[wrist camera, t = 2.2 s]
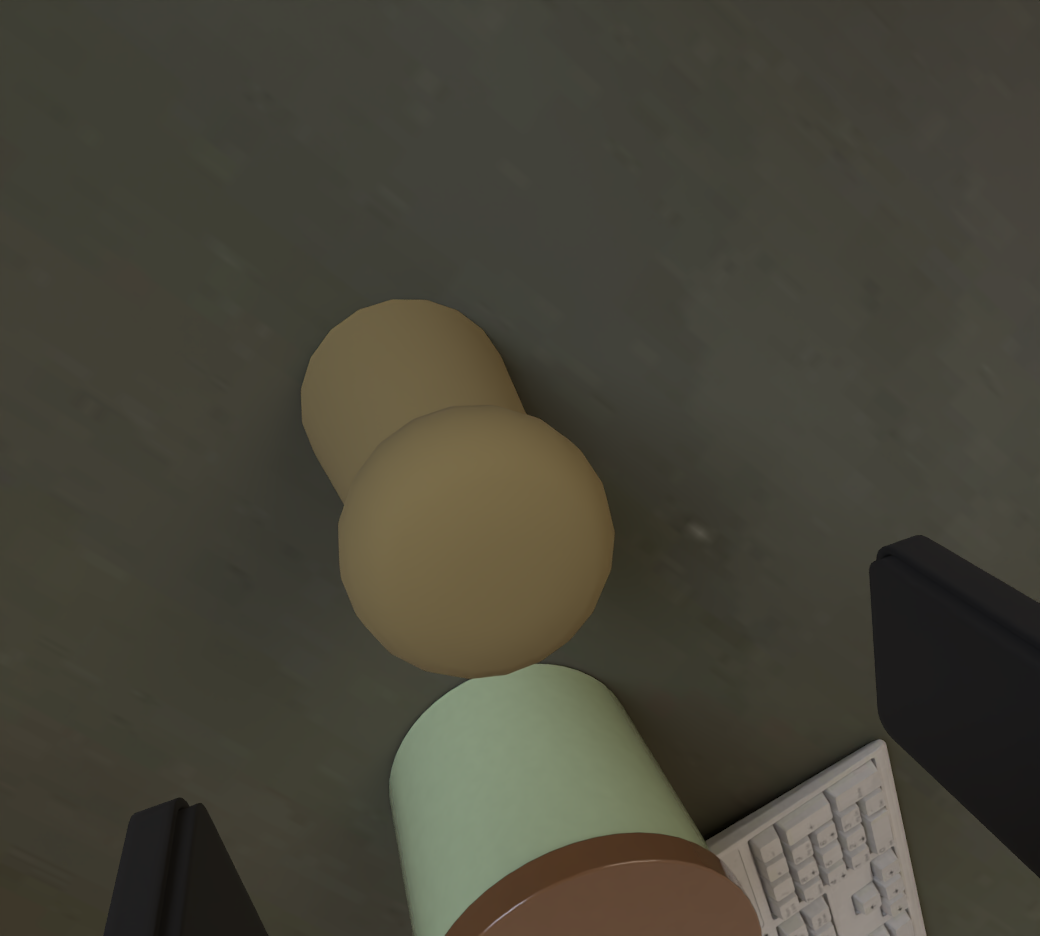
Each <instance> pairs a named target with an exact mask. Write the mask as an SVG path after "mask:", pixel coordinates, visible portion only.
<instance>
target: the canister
mask: <svg viewBox="0 0 1040 936" xmlns="http://www.w3.org/2000/svg"><path fill="white" fill-rule="evenodd" d="M389 799H390V805H391V811H392V817H393V823H394V828H395V834H396V840H397V846H398V851H399V857H400V863H401V869H402V875H403V880H404V886H405V892H406V898H407V903H408V909H409V915H410V921H411V926H412V932H413V936H762V931H761V925H760V921H759V918H758V915H757V912H756V910H755V908H754V906H753V904H752V903H751V901H750V899H749V897H748V896H747V894H746V892H745V891H744V889H743V888H742V886H741V884H740V883H739V881H738V880H737V878H736V876H735V875H734V873H733V872H732V871H731V870H730V869H729V867H728V866H727V865H726V864H725V863H724V862H723V861H722V860H721V859H720V858H718V857H717V856H716V855H715V854H713V853H712V851H711V850H710V848H709V846H708V845H707V843H706V841H705V840H704V838H703V837H702V835H701V833H700V832H699V830H698V828H697V827H696V825H695V823H694V822H693V820H692V819H691V817H690V815H689V814H688V812H687V810H686V809H685V807H684V805H683V804H682V802H681V801H680V799H679V797H678V796H677V794H676V792H675V791H674V789H673V788H672V786H671V784H670V783H669V781H668V779H667V778H666V776H665V774H664V773H663V771H662V770H661V768H660V766H659V765H658V763H657V761H656V760H655V758H654V756H653V755H652V753H651V752H650V750H649V748H648V747H647V745H646V743H645V742H644V740H643V739H642V737H641V735H640V734H639V732H638V730H637V729H636V727H635V725H634V724H633V722H632V721H631V719H630V717H629V716H628V714H627V712H626V711H625V709H624V707H623V706H622V704H621V703H620V701H619V700H618V699H617V698H616V696H615V695H614V694H613V693H612V692H611V691H610V690H609V689H608V688H607V687H606V686H605V685H604V684H602V683H601V682H599V681H598V680H596V679H595V678H593V677H591V676H589V675H587V674H585V673H582V672H580V671H578V670H575V669H571V668H568V667H564V666H559V665H551V664H533V665H530V666H528V667H525V668H523V669H520V670H518V671H515V672H513V673H510V674H507V675H501V676H493V677H484V678H475V679H470V680H468V681H466V682H464V683H462V684H461V685H459V686H457V687H455V688H454V689H452V690H450V691H449V692H448V693H446V694H445V695H444V696H442V697H441V698H440V699H438V700H437V701H436V702H435V703H433V704H432V705H431V706H430V707H429V708H428V709H427V710H426V711H425V712H424V713H423V714H422V715H421V716H420V717H419V719H418V720H417V721H416V722H415V723H414V724H413V726H412V727H411V729H410V730H409V732H408V733H407V735H406V736H405V738H404V739H403V741H402V743H401V745H400V748H399V750H398V752H397V754H396V757H395V760H394V763H393V766H392V769H391V775H390V781H389Z"/></svg>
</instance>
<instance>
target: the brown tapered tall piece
mask: <svg viewBox="0 0 1040 936" xmlns="http://www.w3.org/2000/svg"><path fill="white" fill-rule="evenodd" d="M301 407H302V423H303V426H304V428H305V431H306V433H307V436H308V439H309V441H310V444H311V446H312V449H313V451H314V453H315V455H316V457H317V458H318V460H319V462H320V464H321V465H322V467H323V469H324V471H325V472H326V474H327V476H328V478H329V479H330V481H331V483H332V485H333V486H334V488H335V490H336V492H337V493H338V495H339V497H340V499H341V500H342V502H343V504H344V507H343V510H342V513H341V516H340V519H339V522H338V535H339V566H340V574H341V579H342V582H343V584H344V587H345V589H346V591H347V594H348V596H349V599H350V601H351V604H352V606H353V609H354V611H355V613H356V615H357V616H358V618H359V619H360V620H361V621H362V623H363V624H364V625H365V627H366V628H367V629H368V630H369V631H370V632H371V633H372V634H373V635H374V636H375V637H376V638H377V639H378V640H379V642H380V643H381V644H382V645H383V646H384V647H385V648H386V649H387V650H388V651H389V652H390V653H391V654H393V655H395V656H397V657H399V658H400V659H402V660H404V661H406V662H408V663H410V664H412V665H414V666H416V667H418V668H420V669H422V670H424V671H428V672H433V673H438V674H444V675H450V676H455V677H461V678H467V679H475V678H484V677H493V676H501V675H507V674H510V673H513V672H515V671H518V670H520V669H523V668H525V667H528V666H530V665H533V664H536V663H538V662H541V661H542V660H543V659H545V658H546V657H547V656H549V655H550V654H552V653H553V652H554V651H556V650H557V649H558V648H560V647H561V646H563V645H564V644H565V643H567V642H568V641H570V640H571V638H572V637H573V636H574V635H575V633H576V632H577V631H578V630H579V629H580V627H581V626H582V625H583V624H584V622H585V621H586V620H587V619H588V618H589V616H590V615H591V614H592V613H593V611H594V608H595V606H596V604H597V601H598V599H599V597H600V594H601V592H602V590H603V587H604V585H605V583H606V580H607V578H608V576H609V573H610V571H611V566H612V556H613V546H614V536H615V531H614V527H613V523H612V519H611V515H610V510H609V506H608V502H607V498H606V494H605V491H604V487H603V484H602V482H601V480H600V479H599V477H598V476H597V474H596V473H595V471H594V470H593V468H592V467H591V465H590V464H589V462H588V461H587V459H586V458H585V456H584V455H583V453H582V452H581V451H580V450H579V449H578V448H577V447H576V446H575V445H574V444H573V443H572V442H571V441H570V440H568V439H567V438H566V437H564V436H563V435H561V434H560V433H559V432H557V431H556V430H555V429H553V428H552V427H551V426H549V425H548V424H546V423H545V422H544V421H542V420H541V419H540V418H536V417H533V416H530V415H526V413H525V410H524V408H523V406H522V403H521V401H520V399H519V397H518V394H517V392H516V390H515V387H514V385H513V383H512V381H511V378H510V376H509V374H508V371H507V369H506V367H505V364H504V362H503V360H502V358H501V356H500V354H499V353H498V351H497V350H496V348H495V347H494V345H493V344H492V342H491V341H490V339H489V338H488V336H487V335H486V333H485V332H484V330H483V329H481V328H480V327H479V326H477V325H476V324H475V323H473V322H472V321H471V320H469V319H468V318H467V317H465V316H464V315H463V314H461V313H460V312H459V311H458V310H455V309H452V308H449V307H446V306H443V305H440V304H437V303H434V302H431V301H428V300H395V299H392V300H388V301H385V302H382V303H379V304H376V305H373V306H370V307H366V308H363V309H360V310H358V311H356V312H355V313H354V314H352V315H351V316H350V317H348V318H347V319H345V320H344V321H343V322H341V323H340V324H338V325H337V326H336V327H334V328H333V329H331V330H330V332H329V333H328V334H327V336H326V337H325V339H324V340H323V341H322V343H321V344H320V345H319V347H318V348H317V350H316V351H315V352H314V354H313V355H312V357H311V358H310V361H309V365H308V368H307V371H306V374H305V378H304V381H303V384H302V387H301Z"/></svg>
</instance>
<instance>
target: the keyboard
mask: <svg viewBox="0 0 1040 936" xmlns="http://www.w3.org/2000/svg"><path fill="white" fill-rule="evenodd" d="M706 843H707V845H708V846H709V848H710V850H711V851H712V853H713V854H715V855H716V856H717V857H718V858H720V859H721V860H722V861H723V862H724V863H725V864H726V865H727V866H728V867H729V869H730V870H731V871H732V872H733V873H734V875H735V876H736V878H737V880H738V881H739V883H740V884H741V886H742V888H743V889H744V891H745V892H746V894H747V896H748V897H749V899H750V901H751V903H752V904H753V906H754V908H755V910H756V912H757V915H758V918H759V921H760V925H761V931H762V936H926V932H925V927H924V922H923V917H922V912H921V908H920V903H919V898H918V893H917V889H916V884H915V879H914V874H913V870H912V865H911V860H910V855H909V851H908V846H907V841H906V836H905V831H904V827H903V822H902V817H901V812H900V808H899V803H898V798H897V793H896V789H895V784H894V779H893V774H892V770H891V765H890V760H889V755H888V751H887V746H886V743H885V742H884V741H883V740H880V739H878V740H875V741H873V742H870V743H869V744H867V745H865V746H864V747H862V748H860V749H859V750H857V751H855V752H854V753H852V754H850V755H849V756H847V757H845V758H844V759H842V760H840V761H839V762H837V763H835V764H834V765H832V766H830V767H829V768H827V769H825V770H824V771H822V772H820V773H819V774H817V775H815V776H814V777H812V778H810V779H808V780H807V781H805V782H803V783H802V784H800V785H798V786H797V787H795V788H793V789H792V790H790V791H788V792H787V793H785V794H783V795H782V796H780V797H778V798H777V799H775V800H773V801H772V802H770V803H768V804H767V805H765V806H763V807H762V808H760V809H758V810H757V811H755V812H753V813H752V814H750V815H748V816H747V817H745V818H743V819H742V820H740V821H738V822H737V823H735V824H733V825H732V826H730V827H728V828H727V829H725V830H723V831H722V832H720V833H718V834H717V835H715V836H713V837H712V838H710V839H708V840H707V841H706Z"/></svg>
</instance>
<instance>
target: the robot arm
mask: <svg viewBox="0 0 1040 936" xmlns="http://www.w3.org/2000/svg"><path fill="white" fill-rule="evenodd" d="M869 576H870V592H871V608H872V625H873V641H874V657H875V673H876V690H877V706H878V714H879V717H880V720H881V723H882V725H883V727H884V728H885V730H886V731H887V733H888V734H889V735H890V736H891V737H892V739H894V740H895V741H896V742H897V743H898V744H899V745H900V746H901V747H902V748H903V749H904V750H905V751H906V752H907V753H908V754H909V755H910V756H911V757H912V758H914V759H915V760H916V761H917V762H918V763H919V764H920V765H921V766H922V767H923V768H924V769H925V770H926V771H927V772H928V773H929V774H930V775H931V776H933V777H934V778H935V779H936V780H937V781H938V782H939V783H940V784H941V785H942V786H943V787H944V788H945V789H946V790H947V791H948V792H949V793H950V794H951V795H953V796H954V797H955V798H956V799H957V800H958V801H959V802H960V803H961V804H962V805H963V806H964V807H965V808H966V809H967V810H968V811H969V812H970V813H971V814H973V815H974V816H975V817H976V818H977V819H978V820H979V821H980V822H981V823H982V824H983V825H984V826H985V827H986V828H987V829H988V830H989V831H990V832H992V833H993V834H994V835H995V836H996V837H997V838H998V839H999V840H1000V841H1001V842H1002V843H1003V844H1004V845H1005V846H1006V847H1007V848H1008V849H1009V850H1010V851H1012V852H1013V853H1014V854H1015V855H1016V856H1017V857H1018V858H1019V859H1020V860H1021V861H1022V862H1023V863H1024V864H1025V865H1026V866H1027V867H1028V868H1029V869H1031V870H1032V871H1033V872H1034V873H1035V874H1036V875H1037V876H1038V877H1039V878H1040V603H1038V602H1036V601H1035V600H1033V599H1031V598H1029V597H1028V596H1026V595H1024V594H1023V593H1021V592H1019V591H1017V590H1016V589H1014V588H1012V587H1011V586H1009V585H1007V584H1006V583H1004V582H1002V581H1000V580H999V579H997V578H995V577H994V576H992V575H990V574H989V573H987V572H985V571H983V570H982V569H980V568H978V567H977V566H975V565H973V564H972V563H970V562H968V561H966V560H965V559H963V558H961V557H960V556H958V555H956V554H955V553H953V552H951V551H949V550H948V549H946V548H944V547H943V546H941V545H939V544H938V543H936V542H934V541H932V540H931V539H929V538H927V537H925V536H922V535H916V536H913V537H910V538H907V539H904V540H902V541H899V542H896V543H893V544H890V545H888V546H885V547H882V548H881V549H880V550H879V551H878V554H877V559H876V561H874V562H873V563H871V565H870V570H869ZM103 936H268V934H267V932H266V930H265V928H264V926H263V924H262V922H261V920H260V918H259V916H258V913H257V911H256V909H255V907H254V905H253V903H252V901H251V899H250V897H249V895H248V893H247V891H246V889H245V887H244V885H243V883H242V881H241V879H240V877H239V875H238V873H237V871H236V869H235V866H234V864H233V862H232V860H231V858H230V856H229V854H228V852H227V850H226V848H225V846H224V844H223V842H222V840H221V838H220V836H219V834H218V832H217V830H216V828H215V826H214V824H213V822H212V820H211V817H210V815H209V813H208V811H207V810H206V808H205V806H204V805H203V804H202V803H198V804H195V805H193V806H190V807H189V805H188V803H187V802H186V801H185V800H184V799H183V798H176V799H174V800H171V801H168V802H165V803H162V804H160V805H157V806H154V807H151V808H148V809H145V810H143V811H140V812H137V813H135V814H134V815H132V816H131V819H130V821H129V825H128V829H127V834H126V838H125V842H124V847H123V851H122V856H121V860H120V864H119V869H118V873H117V878H116V882H115V887H114V891H113V895H112V900H111V904H110V909H109V913H108V918H107V922H106V926H105V931H104V935H103Z"/></svg>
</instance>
